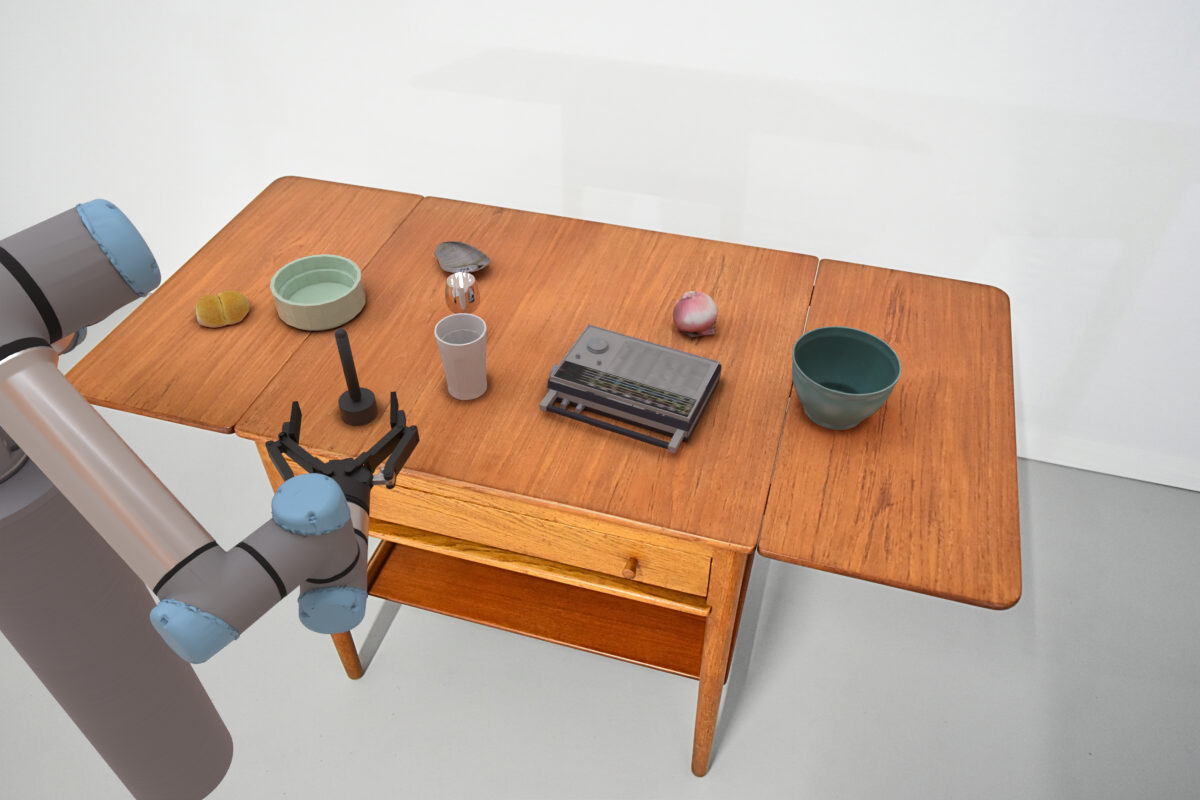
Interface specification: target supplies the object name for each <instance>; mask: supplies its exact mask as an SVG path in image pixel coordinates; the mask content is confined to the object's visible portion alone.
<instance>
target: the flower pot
mask: <svg viewBox="0 0 1200 800" xmlns="http://www.w3.org/2000/svg"><path fill="white" fill-rule="evenodd" d="M791 357H792V358H791V360H792V364H791V378H792V384H793V388H794V392H795V393H796V396H797V398H798V400H799V402H800V403H801V405H802V408H803V412H804V413H805V415H806V417H808V419H809V420H810V421H812V422H813V423H814V424H816V425H818V426H820V427H822V428H825V429H829V430H832V431H833V430H834V431H845V430H850V429H853V428H855V427H857V426H858V425H859V424H861V422H862V421H864V420H866V419H868V418H869V417H871V416H872V415H874V414H875V413H877V411H879V410H880V409H881V408H882V407H883V406H884V405H885V403H886V402H887V401H888V400H889V398H890V396H891V395H892V393H893V390H894V388H895V387H896V385H897V384H898V382H899V380H900V377H901V375H902V362H901V360H900V357H899V355H898V354H897V352H896V351H895V350H894V349H893V348H892V347H891V345H890V344H888V343H887V342H886V341H884V340H883V339H882V338H880V337H878V336H877V335H875V334H872V333H870V332H867V331H864V330H862V329H859V328H855V327H850V326H841V325H834V326H833V325H831V326H829V325H828V326H821V327H817V328H814V329H811V330H808V331H807V332H805V333H803V334H802V335H801V336H799V337H798V339H797V340H796V341H795V343H794V344H793V347H792V354H791Z"/></svg>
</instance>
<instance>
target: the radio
mask: <svg viewBox="0 0 1200 800" xmlns="http://www.w3.org/2000/svg"><path fill="white" fill-rule="evenodd" d="M721 375H722V364H721V363H720V361H719V360H715V359H712V358H709V357H708V358H707V357H704V356H701V355H697V354H694V353H691V352H687V351H684V350H680V349H677V348H673V347H669V346H666V345H663V344H659V343H656V342H652V341H649V340H646V339H641V338H638V337H635V336H631V335H627V334H623V333H620V332H617V331H613V330H611V329H606V328H603V327H599V326H596V325H593V324H587V325H586V326H585V328H584V329H583V330H582V332H581V333H580V334H579V336H578V338H577V339H576V340H575V341H574V343H573V344H572V345H571V347H570V348H569V350H567V352H566V354H565V355H564V356H563V358H562V359H561V361H560V362H559V363H558V364H556V363H555V364H554V365H553V366H552V367H551V369H550V371H549V376H548V379H547V383H546V395H545V396H544V397H543V399H542V400H541V401H540V403H539V404H538V406H539V407H538V408H539V411H541V412H543V413H548V412H549V413H552V414H555V415H558V416H561V417H565V418H567V419H570V420H574V421H576V422H580V423H583V424H586V425H589V426H591V427H595V428H599V429H601V430H604V431H607V432H611V433H614V434H617V435H620V436H623V437H627V438H630V439H633V440H636V441H640V442H643V443H646V444H648V445H650V446H651V445H652V446H655V447H658V448H660V449H664V450H667V452H669V453H672V454H676V453H677V451H678V449H679V447H680V445H681V444H682V442H684V443H689V441H690V439H691V438H692V435H693V434H694V432H695V430H696V428H697V426H698V424H699V422H700V420H701V419H702V417H703V414H704V412H705V411H706V409H707V407H708V405H709V404H710V401H711V399H712V398H713V395H714V394H715V391H716V389H717V388H718V386H719V384H720V380H721V377H722V376H721ZM555 401H556V402H559V406H556V405H553V404H554V402H555ZM568 406H570V407H574V411H572V410H569V409H566V408H567V407H568ZM583 410H584V411H587V412H590V413H594V414H596V415H599V416H603V417H606V418H609V419H612V420H615V421H619V422H621V423H625V424H628V425H632V426H634V427H637V428H641V429H644V430H647V431H651V432H653V433H656V434H659V435H662V436H666V437H669V438H671V439H670V441H666V440H663V439H660V438H657V437H654V436H650V435H648V434H645V433H641V432H638V431H634V430H632V429H630V428H629V429H628V428H625V427H623V426H619V425H616V424H613V423H610V422H606V421H603V420H601V419H597V418H594V417H591V416H588V415H584V414H581V413H582V411H583Z"/></svg>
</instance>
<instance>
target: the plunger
mask: <svg viewBox="0 0 1200 800" xmlns="http://www.w3.org/2000/svg"><path fill="white" fill-rule="evenodd" d="M334 339H335V343H336V347H337V350H338V351H337V352H338V355H339V359H340V363H341V367H342V371H343V375H344V379H345V383H346V388H347V390H345V391H344V392H342V393H341V394H340V395H339V397H338V400H337V404H338V408H339V412H340V415H341V419H342V421H343V422H344V423H345V424H347V425H350V426H354V427H356V426H359V427H360V426H364V425H367V424H369V423H371V422H372V421H374V419H376V417H377V416H378V413H379V409H378V404H377V401H376V400H377V399H376V395H375V393H374V392H373V390H371V389H370V388H367V387H361V386H360V381H359V377H358V374H357V373H358V372H357V369H356V364H355V360H354V357H353V351H352V348H351V344H350V339H349V335H348V332H347V330H346V329H345V328H342V327H339V328H337V329H336V330H334Z"/></svg>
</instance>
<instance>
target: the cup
mask: <svg viewBox="0 0 1200 800" xmlns="http://www.w3.org/2000/svg"><path fill="white" fill-rule="evenodd" d="M487 328H488V327H487V323H486V322H485V320H484V319H483V318H482V317H480V316H478V315H476V314H473V313H471V314H468V313H458V314H455V313H453V314H449V315H447V316H444V317H443V318H442V319H440V320H439V321H438V322H437V323H436V325H435V327H434V330H433V333H434V337H435V339H436V345H437V348H438V351H439V356H440V359H441V363H442V368H443V371H444V376H445V380H446V385H447V391H448V393H449V395H450V396H452V397H453V398H454V399H456V400H461V401H471V400H474V399H478V398H480V397H481V396H483V395H484V394H485V392H487V389H488V379H487V330H488V329H487Z"/></svg>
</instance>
